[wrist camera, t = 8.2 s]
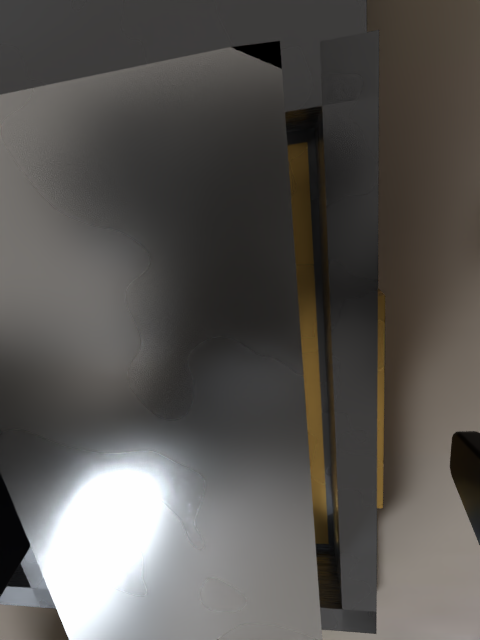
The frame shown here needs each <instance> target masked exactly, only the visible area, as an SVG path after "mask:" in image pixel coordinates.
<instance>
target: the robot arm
mask: <svg viewBox="0 0 480 640" xmlns="http://www.w3.org/2000/svg"><path fill="white" fill-rule="evenodd" d="M450 470H451V475H452V478H453V480H454V483H455V485H456V488H457V490H458V493H459V495H460V498H461V500H462V503H463V505H464V508H465V510H466V513H467V515H468V518H469V520H470V523H471V525H472V528H473V530H474V532H475V535H476V537H477V540H478V542H479V545H480V433H478V432H475V431H466V432H456V433H454V434H453V437H452V445H451V457H450ZM30 547H31V545H30V543H29V541H28V538H27V536H26V533H25V531H24V528H23V526H22V523H21V521H20V519H19V516H18V514H17V511H16V509H15V506H14V504H13V502H12V499H11V497H10V494H9V492H8V489H7V487H6V484H5V482H4V480H3V477H2V475H1V472H0V597H1V595H2V594H3V592H4V590H5V589H6V587H7V585H8V584H9V582H10V580H11V579H12V577H13V575H14V573H15V572H16V570H17V568H18V567H19V565H20V563H21V562H22V560H23V558H24V557H25V555H26V553H27V552H28V550H29V548H30Z"/></svg>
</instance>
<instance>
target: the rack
mask: <svg viewBox="0 0 480 640" xmlns="http://www.w3.org/2000/svg"><path fill="white" fill-rule="evenodd" d="M274 41H280V49H281V63H282V77H283V91H284V105H285V119H286V133H287V148H288V162H289V176H290V190H291V204H292V218H293V233H294V247H295V261H296V275H297V289H298V303H299V318H300V332H301V346H302V360H303V374H304V388H305V403H306V417H307V431H308V445H309V459H310V473H311V487H312V502H313V516H314V530H315V544H316V558H317V572H318V587H319V601H320V615H321V629H322V630H335V631H347V632H360V633H373V634H376V593H377V508H383V448H384V360H385V295H384V294H383V293H382V292H381V291H380V290H379V289H378V151H379V30H376V31H371V32H367V0H0V95H1V94H6V93H11V92H16V91H21V90H26V89H30V88H35V87H40V86H45V85H50V84H54V83H59V82H64V81H69V80H74V79H79V78H83V77H88V76H93V75H98V74H103V73H107V72H112V71H117V70H122V69H127V68H132V67H136V66H141V65H146V64H151V63H156V62H160V61H165V60H170V59H175V58H180V57H185V56H189V55H194V54H199V53H204V52H209V51H213V50H218V49H223V48H228V47H234V46H242V45H250V44H258V43H266V42H274ZM0 604H5V605H17V606H30V607H43V608H55V609H56V606H55V604H54V602H53V599H52V597H51V594H50V592H49V589H48V587H47V584H46V582H45V580H44V577H43V575H42V572H41V570H40V567H39V565H38V563H37V560H36V558H35V555H34V553H33V550H32V548H31V547H30V548H29V550H28V552H27V553H26V555H25V557H24V558H23V560H22V562H21V563H20V565H19V567H18V568H17V570H16V572H15V573H14V575H13V577H12V579H11V580H10V582H9V584H8V585H7V587H6V589H5V590H4V592H3V594H2V595H1V597H0Z"/></svg>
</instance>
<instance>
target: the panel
mask: <svg viewBox="0 0 480 640" xmlns="http://www.w3.org/2000/svg"><path fill="white" fill-rule="evenodd" d="M0 472H1V475H2V477H3V480H4V482H5V484H6V487H7V489H8V492H9V494H10V497H11V499H12V502H13V504H14V506H15V509H16V511H17V514H18V516H19V519H20V521H21V523H22V526H23V528H24V531H25V533H26V536H27V538H28V541H29V543H30V545H31V548H32V550H33V553H34V555H35V558H36V560H37V563H38V565H39V567H40V570H41V572H42V575H43V577H44V580H45V582H46V584H47V587H48V589H49V592H50V594H51V597H52V599H53V602H54V604H55V606H56V609H57V611H58V614H59V616H60V619H61V621H62V623H63V626H64V628H65V631H66V633H67V636H68V638H69V640H322V629H321V615H320V601H319V587H318V572H317V558H316V544H315V530H314V516H313V502H312V487H311V473H310V459H309V445H308V431H307V417H306V403H305V388H304V374H303V360H302V346H301V332H300V318H299V303H298V289H297V275H296V261H295V247H294V233H293V218H292V204H291V190H290V176H289V162H288V148H287V133H286V119H285V105H284V91H283V77H282V63H281V49H280V41H274V42H266V43H258V44H250V45H242V46H234V47H228V48H223V49H218V50H213V51H209V52H204V53H199V54H194V55H189V56H185V57H180V58H175V59H170V60H165V61H160V62H156V63H151V64H146V65H141V66H136V67H132V68H127V69H122V70H117V71H112V72H107V73H103V74H98V75H93V76H88V77H83V78H79V79H74V80H69V81H64V82H59V83H54V84H50V85H45V86H40V87H35V88H30V89H26V90H21V91H16V92H11V93H6V94H1V95H0Z"/></svg>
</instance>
